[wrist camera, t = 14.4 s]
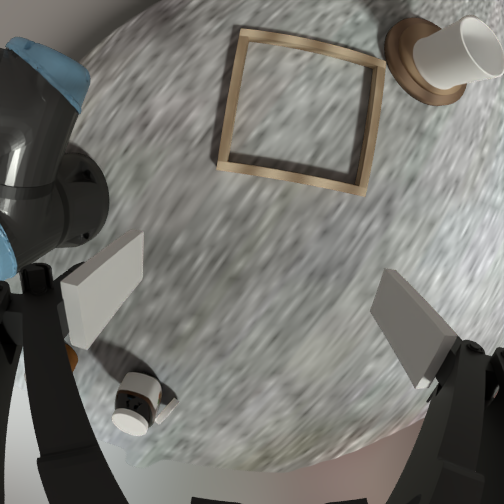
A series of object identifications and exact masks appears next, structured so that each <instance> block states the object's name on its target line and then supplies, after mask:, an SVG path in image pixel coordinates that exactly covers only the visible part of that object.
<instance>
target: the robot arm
mask: <svg viewBox="0 0 504 504" xmlns="http://www.w3.org/2000/svg"><path fill="white" fill-rule="evenodd" d="M5 47H6V49H2V48H0V504H4V461H5V444H6V433H7V424H8V416H9V408H10V402H11V396H12V391H13V386H14V381H15V376H16V371H17V367H18V362H19V358H20V354H21V350H22V347H23V351H24V364H25V374H26V383H27V391H28V397H29V403H30V410H31V415H32V420H33V425H34V429H35V434H36V438H37V443H38V447H39V451H40V458H37V466H38V471H39V474H40V477H41V481H42V484H43V487H44V490H45V493H46V495H47V498H48V501H49V504H129V503H128V501H127V500H126V498H125V496H124V495H123V493H122V491H121V489H120V487H119V485H118V483H117V482H116V480H115V478H114V476H113V474H112V472H111V470H110V468H109V466H108V464H107V462H106V460H105V458H104V455H103V453H102V451H101V449H100V447H99V444H98V442H97V440H96V437H95V435H94V432H93V430H92V428H91V425H90V422H89V420H88V417H87V415H86V412H85V409H84V406H83V404H82V401H81V398H80V395H79V392H78V389H77V385H76V382H75V379H74V376H73V372H72V369H71V365H70V362H69V358H68V354H67V350H66V346H65V342H64V338H65V337H66V336H67V334H68V333H69V336H70V340H71V345H73V346H76V347H80V348H83V349H86V350H88V349H89V347H90V346H91V345H92V343H93V342H94V341H95V339H96V338H97V336H98V335H99V334H100V332H101V331H102V330H103V328H104V327H105V326H106V325H107V323H108V322H109V321H110V319H111V318H112V317H113V315H114V314H115V313H116V312H117V310H118V309H119V308H120V306H121V305H122V304H123V303H124V301H125V300H126V299H127V297H128V296H129V295H130V294H131V292H132V291H133V290H134V289H135V288H136V286H137V285H138V284H139V283H140V281H141V280H142V279H143V240H144V231H140V230H133V229H130V230H129V231H128V232H126V233H125V234H123V235H122V236H120V237H119V238H118V239H116V240H115V241H113V242H112V243H111V244H109V245H108V246H106V247H105V248H104V249H102V250H101V251H100V252H98V253H97V254H96V255H94V256H93V257H92V258H90V259H89V260H88V261H86V262H81V263H79V264H76V265H74V266H72V267H71V268H70V269H68V271H66V272H64V273H63V275H60V276H59V277H58V278H57V279H55V280H54V281H53V276H52V268H51V266H50V265H48V264H46V263H33V262H34V261H36V260H37V259H39V258H40V257H42V256H44V255H45V254H47V253H48V252H50V251H51V250H53V249H54V248H67V247H77V246H80V245H83V244H85V243H86V242H88V241H90V240H91V239H93V238H94V237H95V236H96V235H97V234H98V233H99V232H100V231H101V229H102V227H103V226H104V224H105V221H106V218H107V215H108V210H109V192H108V187H107V183H106V180H105V178H104V175H103V173H102V172H101V170H100V168H99V167H98V166H97V165H96V163H95V162H94V161H92V160H91V159H90V158H88V157H87V156H85V155H82V154H79V153H65V150H66V147H67V144H68V141H69V138H70V136H71V133H72V130H73V128H74V125H75V122H76V120H77V117H78V115H79V114H80V113H81V106H82V103H83V101H84V98H85V96H86V93H87V91H88V88H89V86H90V74H89V72H88V71H87V69H86V68H85V67H84V66H82V65H81V64H79V63H78V62H76V61H75V60H73V59H71V58H69V57H68V56H66V55H64V54H62V53H60V52H58V51H56V50H54V49H52V48H49V47H47V46H45V45H42V44H40V43H35V42H33V41H30V40H28V39H25V38H22V37H14V38H12V39H11V40H10V41H9V42H8V43H7V44H6V46H5ZM31 263H32V264H31ZM18 272H19V275H20V281H21V286H22V292H23V294H14V293H11V292H10V287H9V284H8V283H7V282H6V281H4V280H6V279H7V278H12V277H14V276H15V275H16V274H17V273H18ZM370 312H371V314H372V315H373V317H374V319H375V320H376V322H377V324H378V325H379V327H380V328H381V330H382V332H383V333H384V335H385V337H386V338H387V340H388V342H389V344H390V345H391V347H392V349H393V350H394V352H395V354H396V355H397V357H398V359H399V361H400V362H401V364H402V366H403V368H404V369H405V371H406V373H407V375H408V377H409V378H410V380H411V382H412V384H413V386H414V388H415V389H421V388H429V386H430V385H431V383H432V381H433V380H434V378H435V377H436V379H437V380H438V382H439V383H438V385H437V386H436V388H435V389H434V391H433V392H432V394H431V395H430V397H429V398H428V400H427V401H426V402H429V401H430V400H431V402H430V405H429V408H428V411H427V414H426V417H425V419H424V422H423V425H422V428H421V430H420V433H419V435H418V438H417V440H416V443H415V445H414V448H413V450H412V452H411V455H410V457H409V459H408V461H407V463H406V466H405V468H404V470H403V472H402V474H401V476H400V478H399V480H398V482H397V484H396V486H395V488H394V490H393V492H392V494H391V495H390V497H389V499H388V501H387V502H386V504H504V348H502V347H498V348H496V350H495V352H494V354H493V355H492V356H488V355H485V351H484V349H483V348H482V347H481V346H480V345H479V344H477V343H476V342H473V341H470V340H463V341H462V340H461V339H460V337H459V336H458V335H457V334H456V333H455V332H454V331H453V329H452V328H451V327H450V326H449V325H448V324H447V323H446V322H445V321H444V319H443V318H442V317H441V316H440V315H439V314H438V313H437V312H436V311H435V310H434V309H433V308H432V307H431V306H430V304H429V303H428V302H427V301H426V300H425V299H424V298H423V297H422V296H421V295H420V294H419V293H418V292H417V291H416V290H415V289H414V288H413V287H412V286H411V285H410V284H409V283H408V282H407V281H406V280H405V279H404V278H403V277H402V276H401V275H400V274H399V273H398V272H397V271H396V270H392V269H386V268H384V271H383V275H382V278H381V281H380V284H379V287H378V290H377V293H376V296H375V298H374V301H373V304H372V307H371V310H370ZM497 391H498V393H497ZM496 393H497V395H496V397H495V398H494V395H495V394H496ZM475 470H476V472H475ZM191 504H241V503H236V502H225V501H217V500H209V499H203V498H196V497H192V499H191ZM326 504H368V503H367V498H363V499H357V500H349V501H341V502H330V503H326Z"/></svg>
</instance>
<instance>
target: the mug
mask: <svg viewBox="0 0 504 504" xmlns="http://www.w3.org/2000/svg"><path fill="white" fill-rule="evenodd" d="M413 59H414V63H415V65H416V68H417V70H418V71H419V73H420V74H421V76H422V77H423V78H424V79H425V80H426V81H427V82H428V83H429V84H431V85H432V86H434V87H436V88H438V89H450V88H452V87H453V86H456V85H461V84H465V83H470V82H475V81H480V80H486V79H491V78H497V77H500V76H501V75H502V74H503V73H504V51H503V48H502V46H501V44H500V42H499V40H498V38H497V37H496V35H495V34H494V32H493V31H492V30H491V29H490V28H489V27H488V26H487V25H486V24H485V23H484V22H482V21H481V20H480V19H479V18H478V17H476V16H474V15H467V16H464V17H463V18H461V19H460V20H459V21H457V22H455V23H453V24H451V25H449V26H447V27H445V28H443V29H441V30H439V31H438V32H436V33H434V34H432V35H430V36H428V37H425V38H421V39H419V40H418V41H417V42H416V43H415V45H414V48H413Z"/></svg>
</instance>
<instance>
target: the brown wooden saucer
mask: <svg viewBox="0 0 504 504" xmlns="http://www.w3.org/2000/svg"><path fill="white" fill-rule="evenodd" d="M439 30H441V28H440V27H438V26H437V25H435V24H434V23H432V22H429V21H427V20H424V19H420V18H407V19H403V20H401V21H400V22H398V23H397V24H396V25H394V26H393V27H392V28H391V29H390V30H389V32H388V33H387V35H386V38H385V44H384V51H385V57H386V61H387V64H388V67H389V69H390V71H391V73H392V75H393V76H394V78H395V80H396V81H397V82H398V84H399V85H400V86H401V87H402V88H403V89H404V90H405V91H406V92H407V93H408V94H409V95H410V96H412V97H413V98H415V99H416V100H418V101H420V102H422V103H424V104H427V105H431V106H442V105H448V104H452V103H454V102H456V101H457V100H459V99H460V98H461V96H462V95H463V93H464V91H465V89H466V85H467V83H465V84H461V85H456V86H453V87H452V88H450V89H438V88H436V87H434V86H432V85H431V84H429V83H428V82H427V81H426V80H425V79H424V78H423V77H422V76H421V74H420V73H419V71H418V70H417V68H416V65H415V63H414V59H413V48H414V45H415V43H416V42H417V41H418V40H419V39H421V38H425V37H428V36H430V35H432V34H434V33H436V32H438V31H439Z"/></svg>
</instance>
